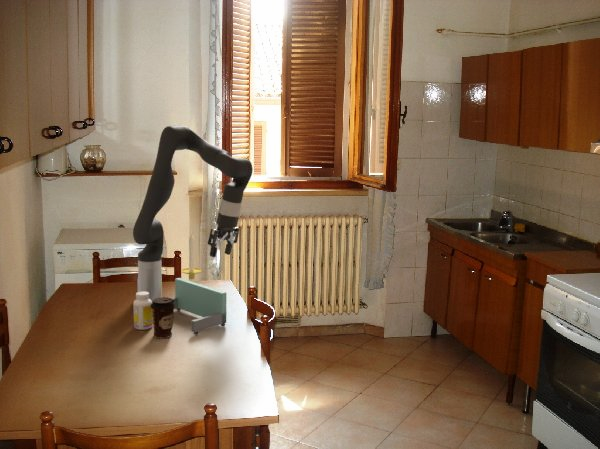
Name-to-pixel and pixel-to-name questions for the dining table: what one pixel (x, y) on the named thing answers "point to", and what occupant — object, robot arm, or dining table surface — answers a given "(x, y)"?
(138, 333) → the dining table surface
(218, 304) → the teal panel stand
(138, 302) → the supplement bottle
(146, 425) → the dining table surface
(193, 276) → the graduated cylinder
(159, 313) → the coffee cup
